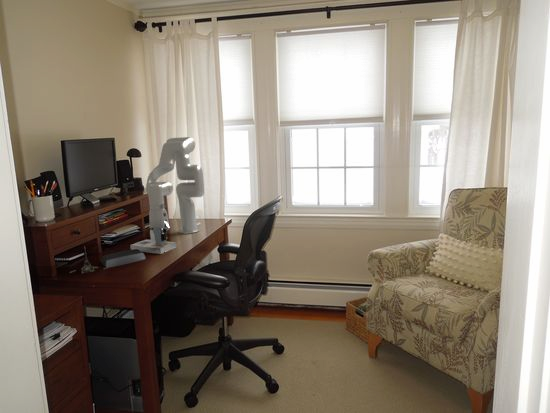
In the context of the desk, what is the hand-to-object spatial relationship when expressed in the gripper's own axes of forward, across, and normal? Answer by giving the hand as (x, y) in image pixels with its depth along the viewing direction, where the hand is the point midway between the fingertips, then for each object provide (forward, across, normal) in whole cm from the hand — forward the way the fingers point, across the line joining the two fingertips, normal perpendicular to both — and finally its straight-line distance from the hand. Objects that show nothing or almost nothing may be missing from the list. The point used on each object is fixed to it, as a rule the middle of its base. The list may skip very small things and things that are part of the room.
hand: (160, 239), depth 217 cm
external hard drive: (+6, +6, +21) cm, 23 cm away
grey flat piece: (+6, +6, 0) cm, 8 cm away
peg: (+4, 0, 0) cm, 4 cm away
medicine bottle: (+6, +16, -15) cm, 23 cm away
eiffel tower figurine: (+7, +11, +38) cm, 40 cm away
